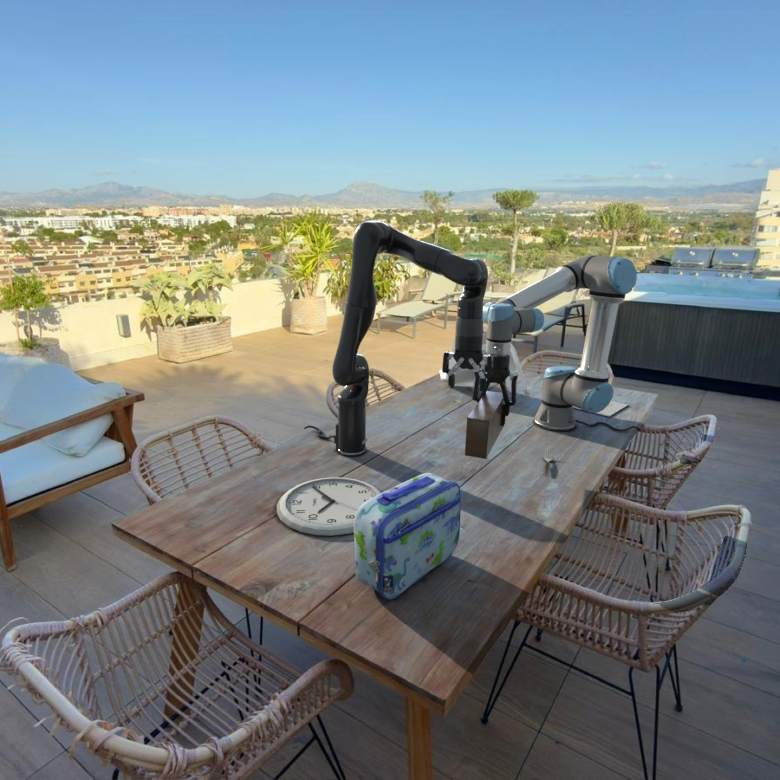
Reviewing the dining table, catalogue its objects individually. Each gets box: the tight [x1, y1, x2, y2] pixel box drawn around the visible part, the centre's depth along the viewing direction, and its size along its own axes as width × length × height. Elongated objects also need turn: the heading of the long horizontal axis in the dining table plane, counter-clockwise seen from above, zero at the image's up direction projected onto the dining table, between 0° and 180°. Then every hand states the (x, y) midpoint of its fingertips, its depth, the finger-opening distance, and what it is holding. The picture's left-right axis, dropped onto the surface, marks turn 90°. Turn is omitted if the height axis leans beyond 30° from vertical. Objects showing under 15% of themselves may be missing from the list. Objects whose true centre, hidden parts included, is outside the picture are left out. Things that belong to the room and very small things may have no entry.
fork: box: [544, 449, 554, 474], centre depth 169 cm, size 3×16×2 cm, turn 160°
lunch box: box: [353, 472, 462, 600], centre depth 112 cm, size 26×11×21 cm, turn 134°
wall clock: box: [276, 476, 383, 537], centre depth 142 cm, size 30×2×30 cm
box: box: [464, 390, 505, 460], centre depth 160 cm, size 28×6×12 cm, turn 158°
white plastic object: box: [438, 338, 531, 399], centre depth 245 cm, size 37×45×31 cm
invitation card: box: [573, 400, 629, 418], centre depth 226 cm, size 21×1×15 cm
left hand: (466, 389), depth 149 cm, fingers open, 8 cm apart
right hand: (492, 422), depth 170 cm, fingers closed on box, 6 cm apart
